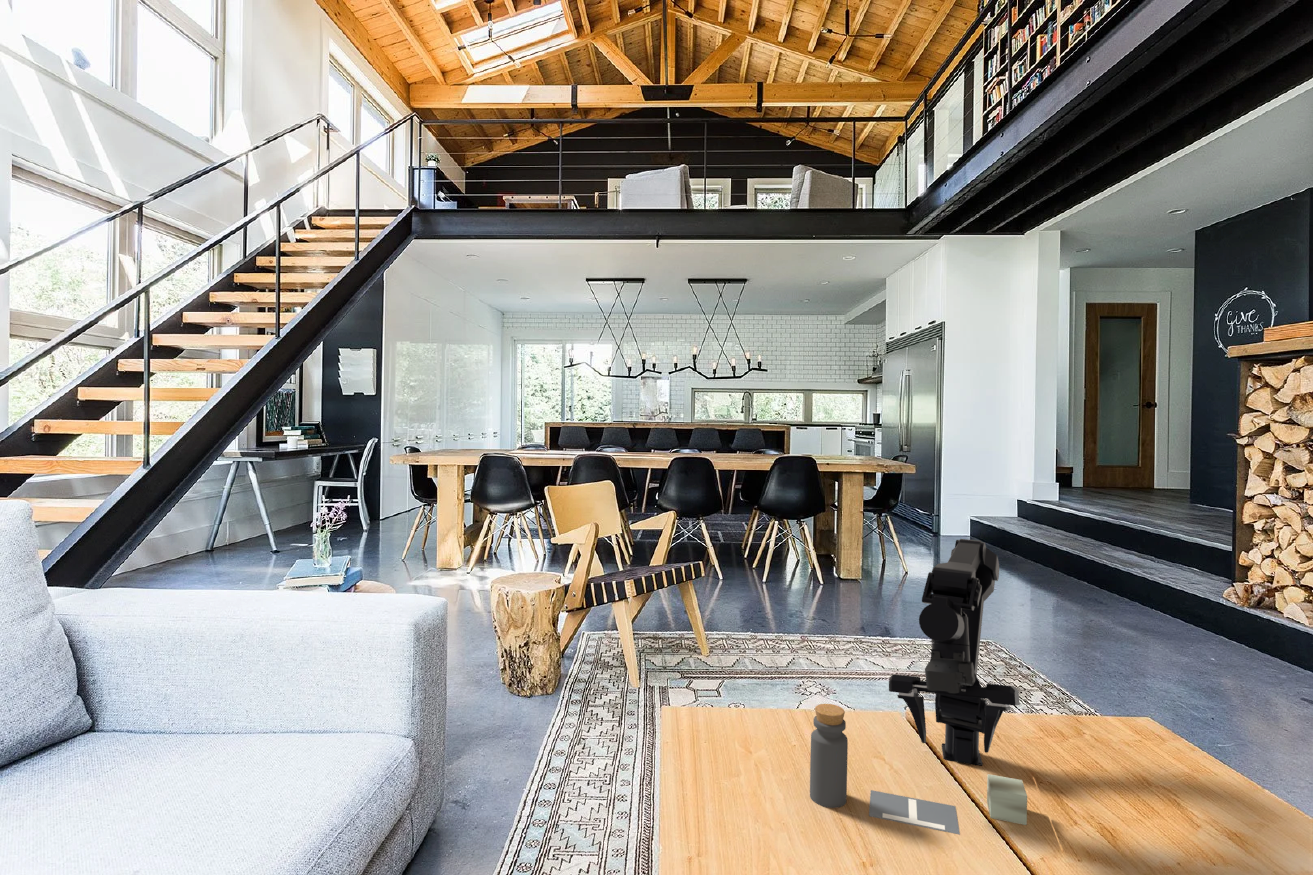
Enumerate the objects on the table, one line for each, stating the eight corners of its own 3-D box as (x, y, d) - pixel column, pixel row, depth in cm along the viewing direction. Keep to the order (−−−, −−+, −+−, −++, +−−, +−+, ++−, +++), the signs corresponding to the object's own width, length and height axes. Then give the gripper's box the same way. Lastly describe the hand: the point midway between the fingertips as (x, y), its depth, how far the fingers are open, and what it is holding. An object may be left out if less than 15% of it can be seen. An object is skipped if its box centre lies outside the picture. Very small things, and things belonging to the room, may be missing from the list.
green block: (986, 804, 109) (987, 773, 109) (1021, 810, 107) (1022, 779, 107) (990, 820, 104) (991, 789, 104) (1026, 828, 102) (1027, 795, 102)
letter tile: (870, 792, 112) (870, 789, 112) (955, 808, 107) (955, 805, 107) (868, 818, 104) (868, 815, 104) (959, 836, 100) (959, 834, 100)
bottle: (847, 812, 106) (849, 718, 105) (810, 807, 107) (811, 714, 107) (845, 792, 111) (846, 703, 111) (809, 788, 113) (810, 700, 112)
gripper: (878, 637, 109) (879, 741, 104) (1006, 646, 98) (1014, 762, 94) (897, 641, 117) (898, 737, 113) (1016, 650, 107) (1023, 755, 103)
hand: (954, 747), depth 105 cm, fingers open, 9 cm apart
